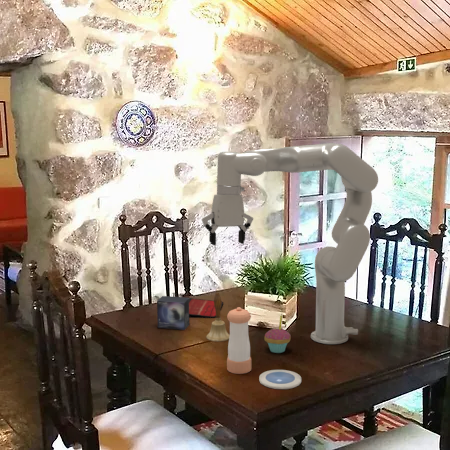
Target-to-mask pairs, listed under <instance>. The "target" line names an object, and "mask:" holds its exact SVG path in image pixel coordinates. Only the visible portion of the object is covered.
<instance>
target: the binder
mask: <svg viewBox="0 0 450 450" xmlns="http://www.w3.org/2000/svg"><path fill="white" fill-rule="evenodd" d="M188 298H189V319H194V318H195V319H216V310H215V306H214V300H210V299H203V298H193V297H191V298H190V297H188ZM223 305H224V302H223V301H222V300H221V308H222V306H223Z"/></svg>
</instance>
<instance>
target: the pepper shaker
mask: <svg viewBox="0 0 450 450" xmlns="http://www.w3.org/2000/svg"><path fill="white" fill-rule="evenodd" d="M251 317H252V315H251V313H250V311H248V310H247V309H244V308H242V307H240V306H238V307H236V308H234V309H231V310H229V311H228V313H227V317H226V318H227V320H228V322H229V335H230V337H229V339H228V344H227V345H228V346H227V354H228V355H227V358H226V368H227V371H228V372H229V373H232V374H235V375H236V374H238V375H242V374H247V373H249V372H250V371H252V357H251V342H250V337H249V322H250V320H251Z"/></svg>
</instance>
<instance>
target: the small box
mask: <svg viewBox="0 0 450 450" xmlns="http://www.w3.org/2000/svg"><path fill="white" fill-rule="evenodd" d="M189 298H190V297H185V296H184V297H183V296H182V297H181V296H167V295H161V297H159V298H158V299H157V300H156V309H157V310H156V311H157V316H156V317H157V328H158V329H166V330H167V329H170V330H178V331H181V330H182V331H185V330H187V328H188V327H189V326H190V324H191V323H190V318H189Z"/></svg>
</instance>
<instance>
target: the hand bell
mask: <svg viewBox="0 0 450 450" xmlns="http://www.w3.org/2000/svg"><path fill="white" fill-rule="evenodd" d="M213 301H214V306H215V310H216V318H215V320H214V321H212V322H211V326H210V331H209V333H207V335H206V336H205V338H206V339H207V340H208V341H210V342H211V341H212V342H225V341H226V342H227V341H229V337H230V333H228V331H227V329H226V323H225V321H223V320H222V318H221V308H222V307H221V301H222V298H221V294H220V292H219V291H218V292H215V295H214V298H213Z"/></svg>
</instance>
